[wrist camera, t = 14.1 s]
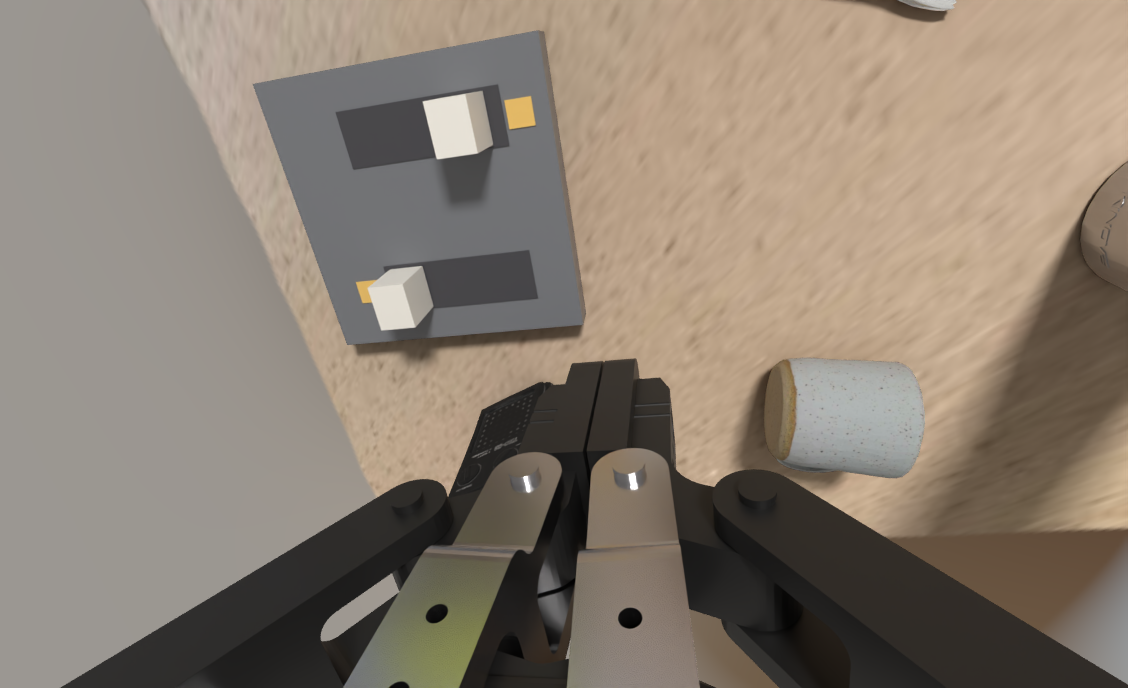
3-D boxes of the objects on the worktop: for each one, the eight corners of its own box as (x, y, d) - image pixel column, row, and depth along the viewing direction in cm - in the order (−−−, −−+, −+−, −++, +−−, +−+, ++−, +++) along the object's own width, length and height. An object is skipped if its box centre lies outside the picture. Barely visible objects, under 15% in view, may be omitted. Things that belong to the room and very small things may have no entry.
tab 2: (482, 90, 32) (465, 94, 29) (493, 144, 34) (477, 153, 31) (443, 97, 33) (422, 101, 30) (455, 150, 34) (436, 159, 31)
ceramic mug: (768, 337, 39) (793, 398, 33) (892, 341, 38) (944, 404, 32) (749, 456, 44) (767, 529, 38) (858, 462, 43) (897, 539, 37)
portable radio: (558, 368, 43) (464, 698, 21) (597, 426, 45) (550, 784, 23) (477, 407, 45) (318, 736, 23) (518, 460, 47) (406, 810, 25)
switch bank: (544, 31, 33) (537, 30, 31) (585, 313, 40) (583, 325, 39) (272, 82, 36) (251, 84, 34) (359, 333, 44) (346, 345, 42)
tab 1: (422, 265, 38) (402, 284, 35) (433, 306, 39) (415, 327, 36) (389, 269, 38) (367, 288, 35) (402, 309, 40) (381, 330, 37)
